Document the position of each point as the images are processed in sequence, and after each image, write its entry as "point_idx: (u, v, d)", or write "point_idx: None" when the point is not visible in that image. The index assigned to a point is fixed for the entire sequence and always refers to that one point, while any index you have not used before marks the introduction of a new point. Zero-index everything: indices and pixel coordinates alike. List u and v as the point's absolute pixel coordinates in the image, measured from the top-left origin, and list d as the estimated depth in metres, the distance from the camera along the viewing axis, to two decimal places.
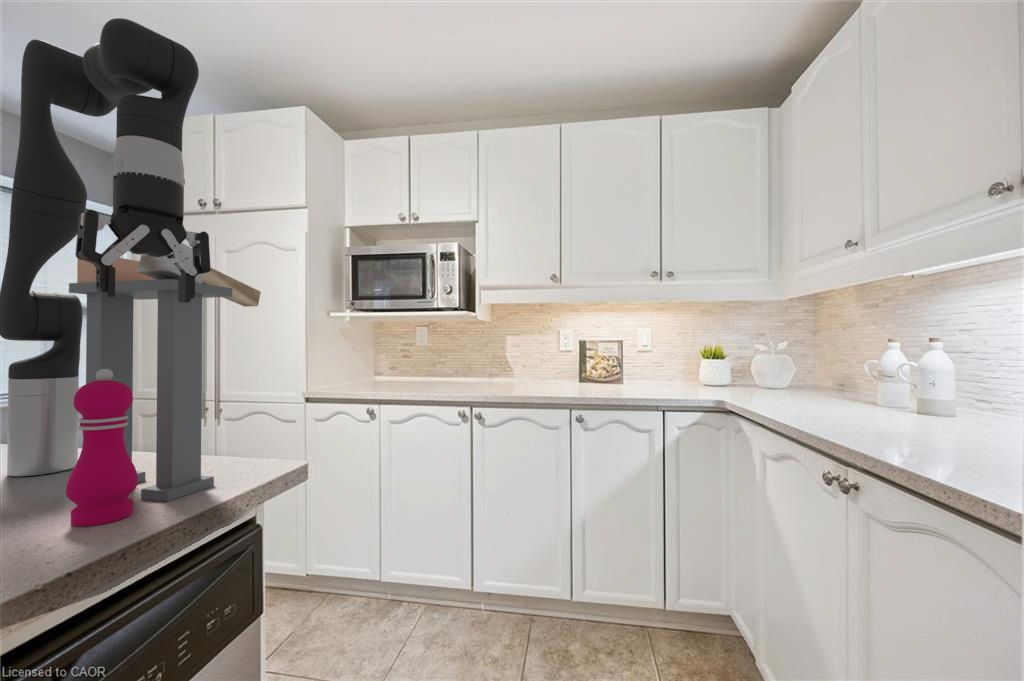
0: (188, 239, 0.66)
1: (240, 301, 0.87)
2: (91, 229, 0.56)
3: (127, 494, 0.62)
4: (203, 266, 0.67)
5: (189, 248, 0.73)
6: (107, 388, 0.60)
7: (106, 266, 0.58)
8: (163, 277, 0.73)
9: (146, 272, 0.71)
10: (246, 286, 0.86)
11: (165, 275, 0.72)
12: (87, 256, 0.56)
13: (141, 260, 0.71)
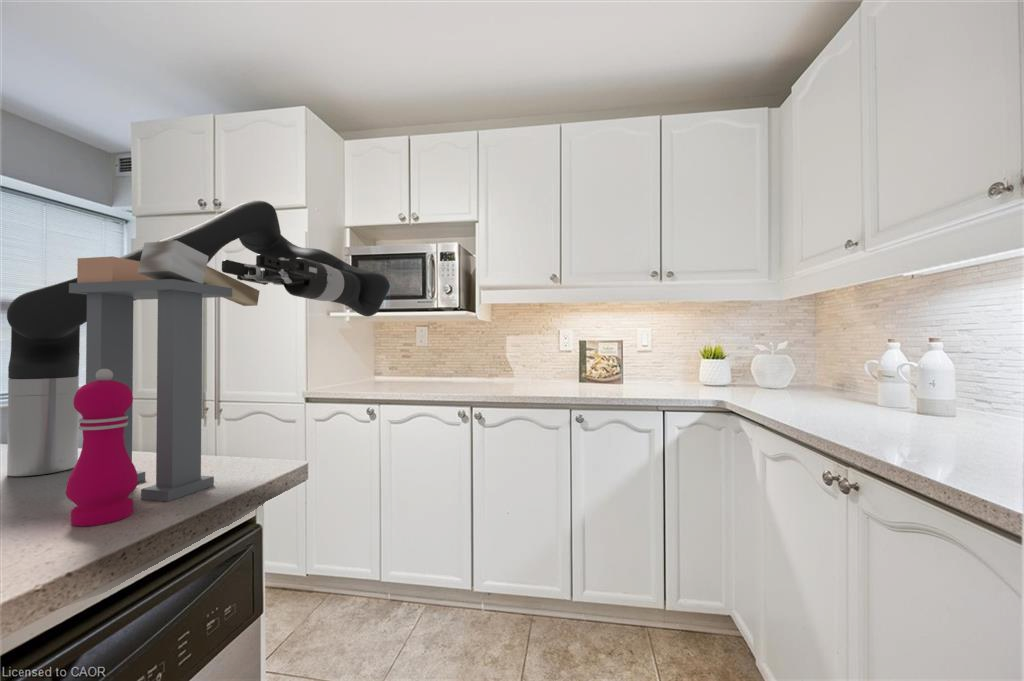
0: None
1: (239, 300, 0.87)
2: (305, 275, 0.83)
3: (127, 494, 0.62)
4: (243, 279, 0.85)
5: (189, 248, 0.73)
6: (107, 388, 0.60)
7: (278, 269, 0.79)
8: (164, 277, 0.73)
9: (147, 273, 0.71)
10: (245, 285, 0.86)
11: (166, 275, 0.72)
12: (291, 271, 0.80)
13: (141, 261, 0.71)
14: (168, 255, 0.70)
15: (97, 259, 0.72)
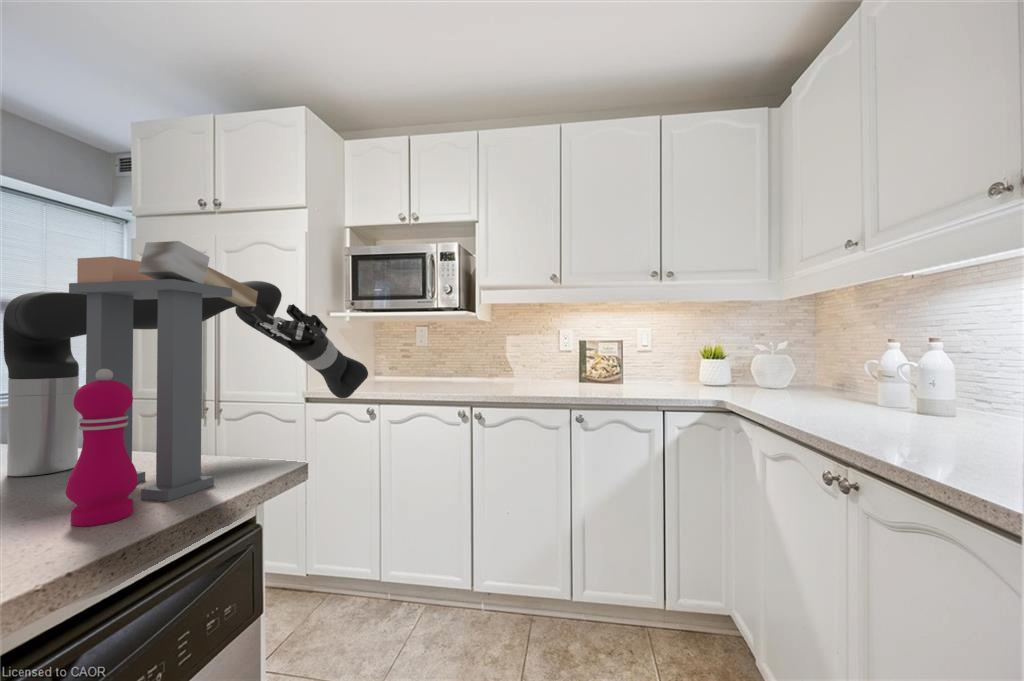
0: None
1: (238, 301, 0.87)
2: (317, 333, 0.99)
3: (127, 494, 0.62)
4: (259, 327, 1.00)
5: (191, 249, 0.73)
6: (107, 388, 0.60)
7: (300, 320, 0.96)
8: (165, 278, 0.73)
9: (148, 273, 0.71)
10: (244, 286, 0.87)
11: (167, 275, 0.72)
12: (310, 324, 0.96)
13: (142, 261, 0.71)
14: (170, 255, 0.71)
15: (97, 259, 0.72)
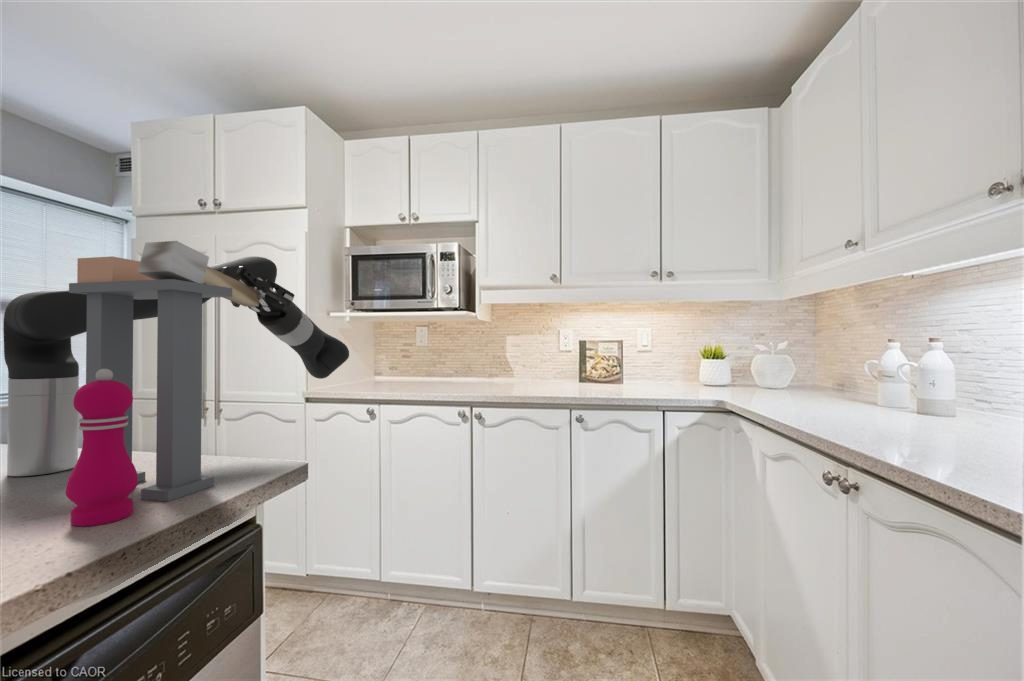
0: None
1: (240, 301, 0.87)
2: (278, 299, 0.89)
3: (127, 494, 0.62)
4: None
5: (189, 249, 0.73)
6: (107, 388, 0.60)
7: (252, 285, 0.87)
8: (164, 278, 0.73)
9: (147, 273, 0.71)
10: (246, 286, 0.86)
11: (166, 275, 0.72)
12: (262, 290, 0.87)
13: (142, 261, 0.71)
14: (167, 255, 0.71)
15: (97, 259, 0.72)
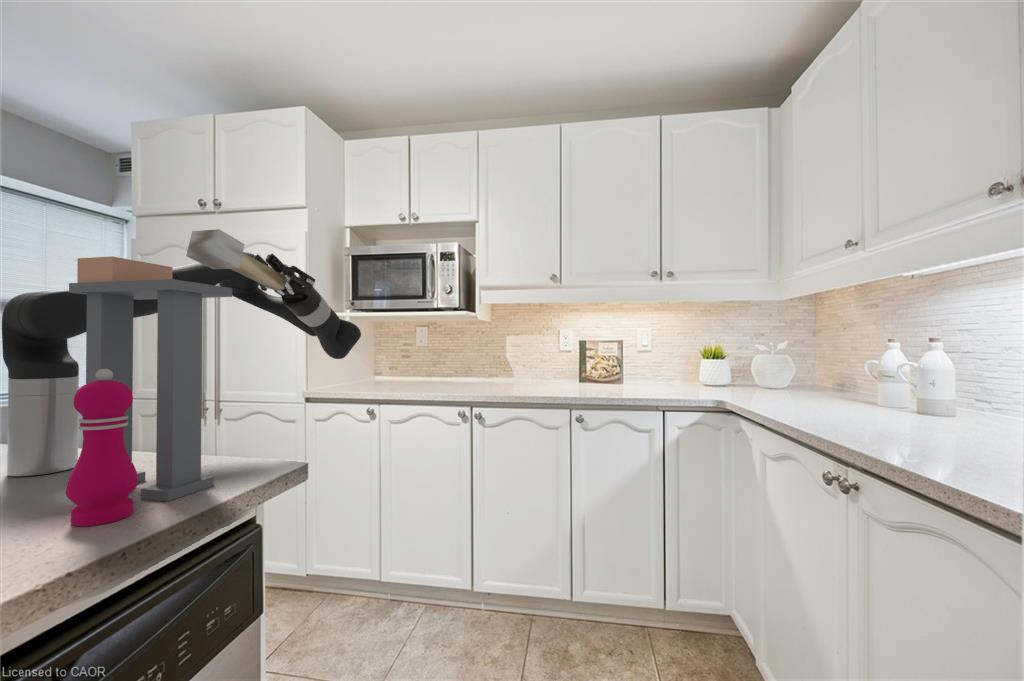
0: None
1: (269, 284, 0.99)
2: (301, 283, 1.02)
3: (127, 494, 0.62)
4: None
5: (229, 236, 0.86)
6: (107, 388, 0.60)
7: (279, 271, 0.99)
8: (207, 261, 0.85)
9: (193, 256, 0.84)
10: (274, 271, 0.99)
11: (209, 259, 0.84)
12: (288, 274, 0.99)
13: (189, 246, 0.84)
14: (211, 241, 0.83)
15: (97, 259, 0.72)
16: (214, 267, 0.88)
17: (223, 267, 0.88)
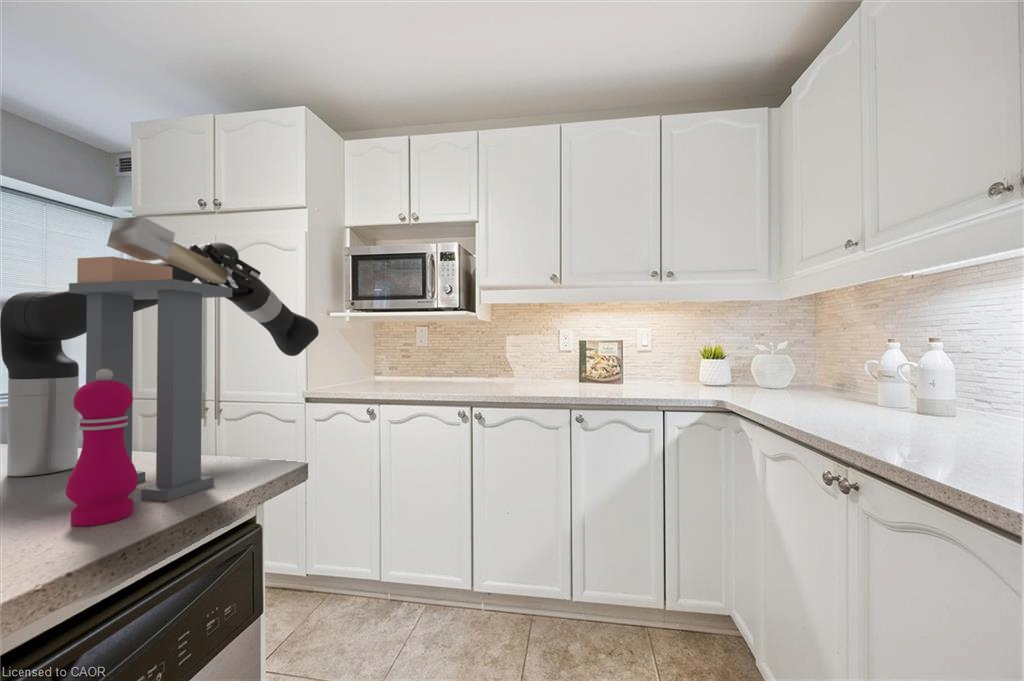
0: None
1: (208, 277, 0.93)
2: (244, 276, 0.95)
3: (127, 494, 0.62)
4: None
5: (155, 224, 0.79)
6: (107, 388, 0.60)
7: (219, 262, 0.93)
8: (132, 251, 0.79)
9: (115, 246, 0.77)
10: (214, 263, 0.92)
11: (133, 249, 0.78)
12: (229, 266, 0.93)
13: (111, 235, 0.77)
14: (134, 230, 0.76)
15: (97, 259, 0.72)
16: (141, 258, 0.82)
17: (151, 258, 0.81)
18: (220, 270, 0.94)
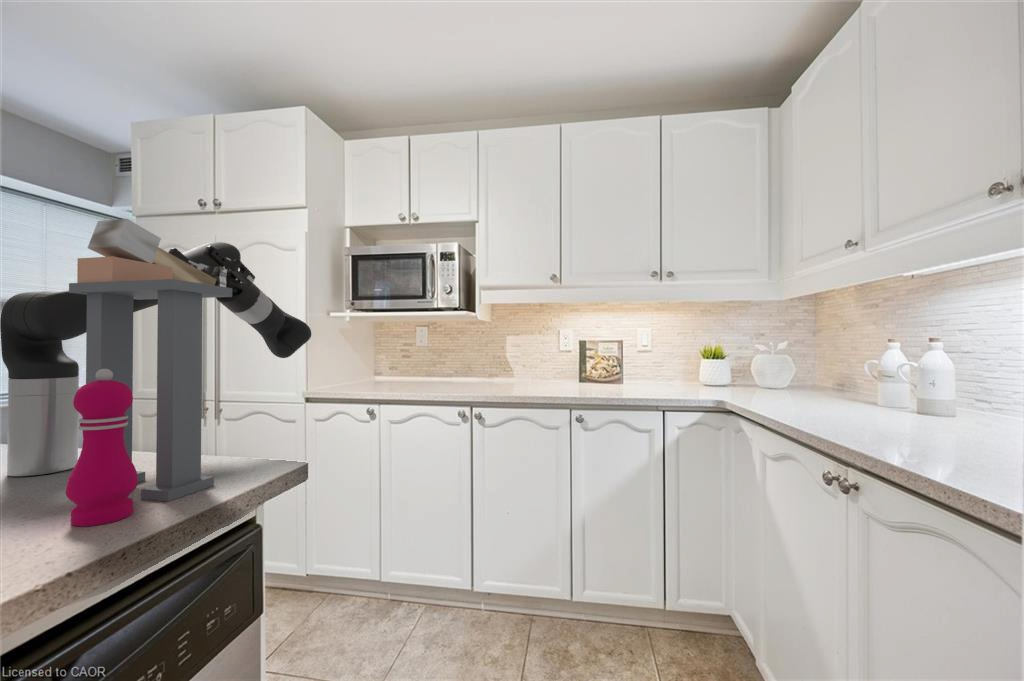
0: None
1: None
2: (242, 280, 0.93)
3: (127, 494, 0.62)
4: None
5: (140, 228, 0.76)
6: (107, 388, 0.60)
7: (221, 265, 0.90)
8: (113, 255, 0.76)
9: (96, 248, 0.74)
10: (201, 272, 0.89)
11: (114, 252, 0.75)
12: (232, 269, 0.90)
13: (92, 237, 0.75)
14: (117, 232, 0.74)
15: (97, 259, 0.72)
16: None
17: None
18: (207, 280, 0.91)
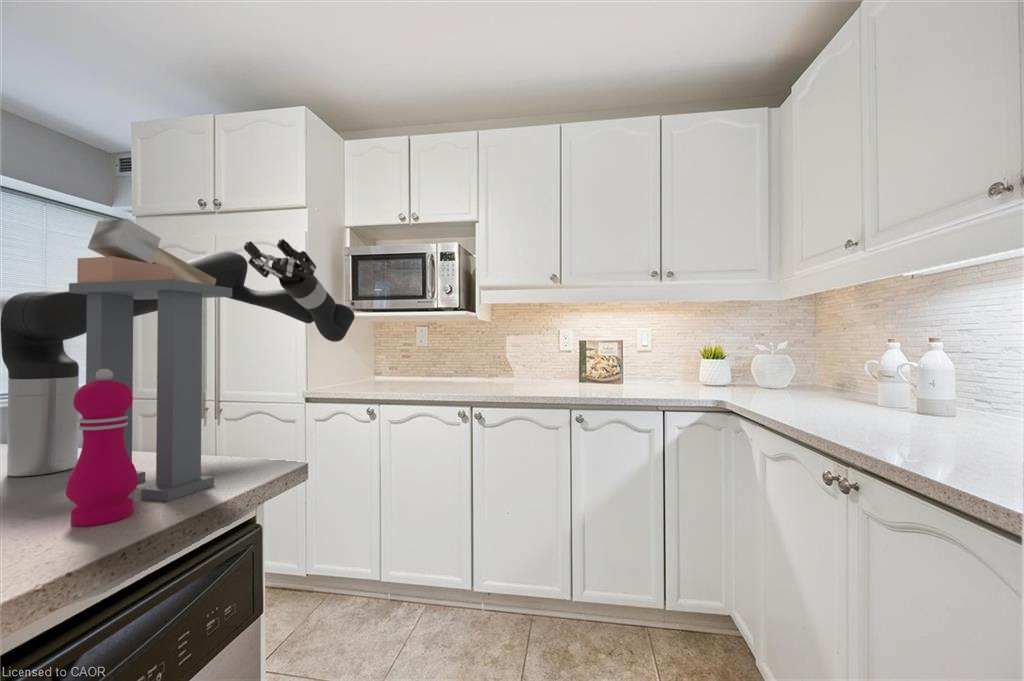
0: None
1: None
2: (306, 269, 1.07)
3: (127, 494, 0.62)
4: (252, 263, 1.07)
5: (140, 228, 0.76)
6: (107, 388, 0.60)
7: (290, 255, 1.04)
8: (113, 255, 0.76)
9: (96, 248, 0.74)
10: (201, 272, 0.89)
11: (114, 252, 0.75)
12: (299, 259, 1.04)
13: (92, 237, 0.75)
14: (117, 232, 0.74)
15: (97, 259, 0.72)
16: None
17: None
18: (207, 280, 0.91)
